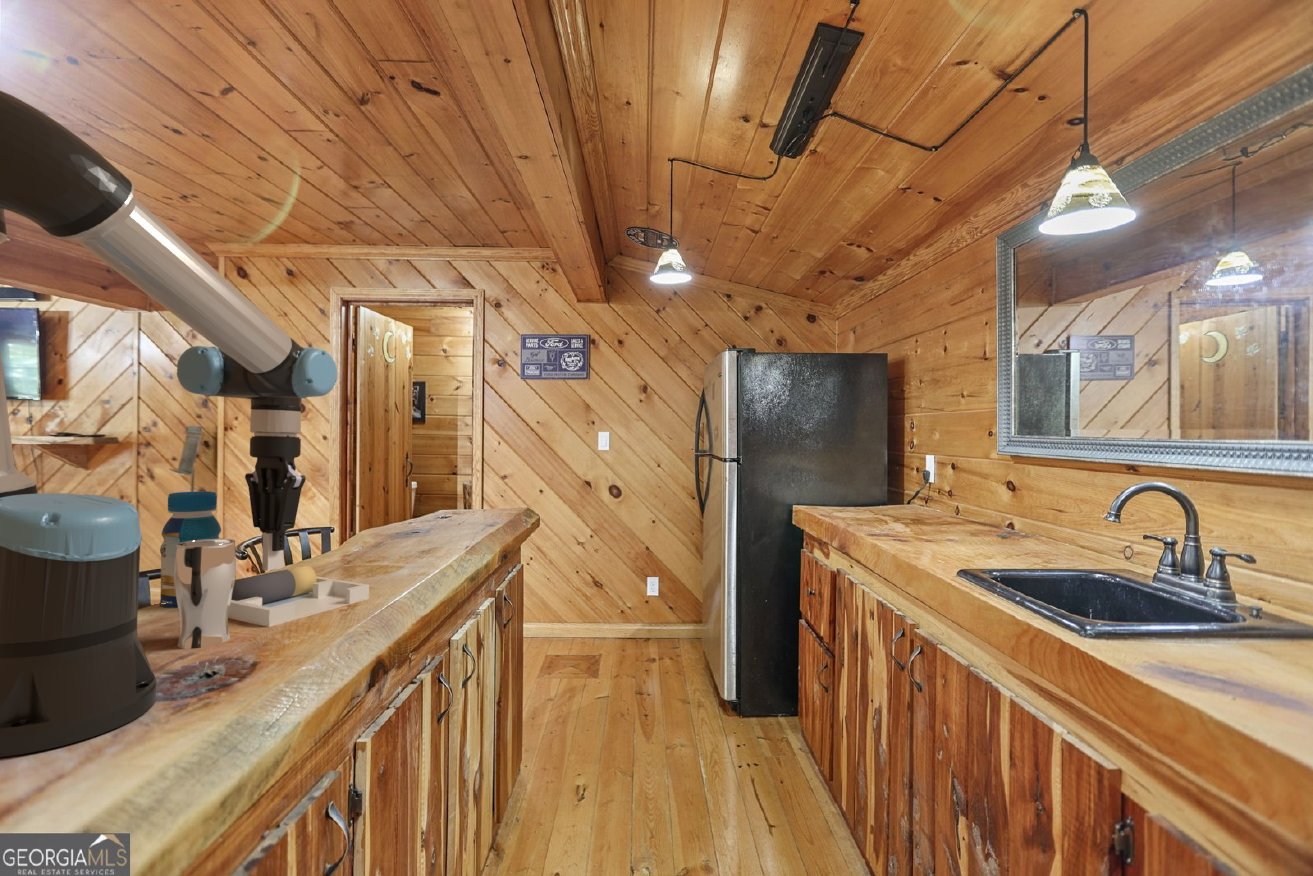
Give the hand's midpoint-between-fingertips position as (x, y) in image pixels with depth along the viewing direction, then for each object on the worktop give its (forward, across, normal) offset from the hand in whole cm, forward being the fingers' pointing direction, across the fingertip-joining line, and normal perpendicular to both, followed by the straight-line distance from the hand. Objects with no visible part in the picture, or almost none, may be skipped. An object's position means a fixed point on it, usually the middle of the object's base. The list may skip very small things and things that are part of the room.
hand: (272, 568), depth 102 cm
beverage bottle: (+7, +13, +6) cm, 16 cm away
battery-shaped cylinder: (+6, 0, 0) cm, 6 cm away
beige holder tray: (+7, -4, 0) cm, 8 cm away
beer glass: (+7, -11, +17) cm, 21 cm away
